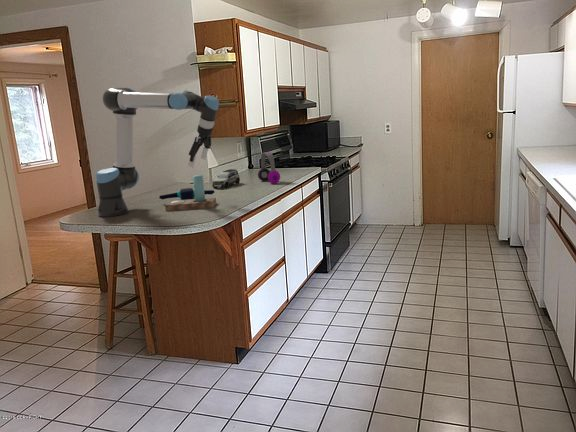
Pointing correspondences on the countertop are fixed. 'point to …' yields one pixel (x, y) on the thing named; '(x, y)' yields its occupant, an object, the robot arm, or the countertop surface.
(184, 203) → the pocket block
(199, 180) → the peg
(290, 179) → the countertop surface
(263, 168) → the headphones
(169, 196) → the toy
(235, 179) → the toy car
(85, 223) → the countertop surface
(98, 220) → the countertop surface
